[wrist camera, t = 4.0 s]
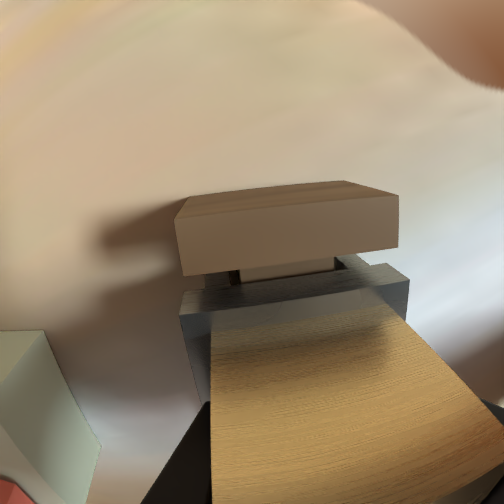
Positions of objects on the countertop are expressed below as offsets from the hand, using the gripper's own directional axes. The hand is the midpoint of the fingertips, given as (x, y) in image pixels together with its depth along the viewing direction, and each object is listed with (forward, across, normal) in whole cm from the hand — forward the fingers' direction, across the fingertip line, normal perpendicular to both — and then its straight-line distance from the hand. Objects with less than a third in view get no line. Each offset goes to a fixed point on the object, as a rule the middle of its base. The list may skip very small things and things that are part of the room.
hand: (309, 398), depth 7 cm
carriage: (+4, 0, 0) cm, 4 cm away
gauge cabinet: (+4, +12, +3) cm, 13 cm away
